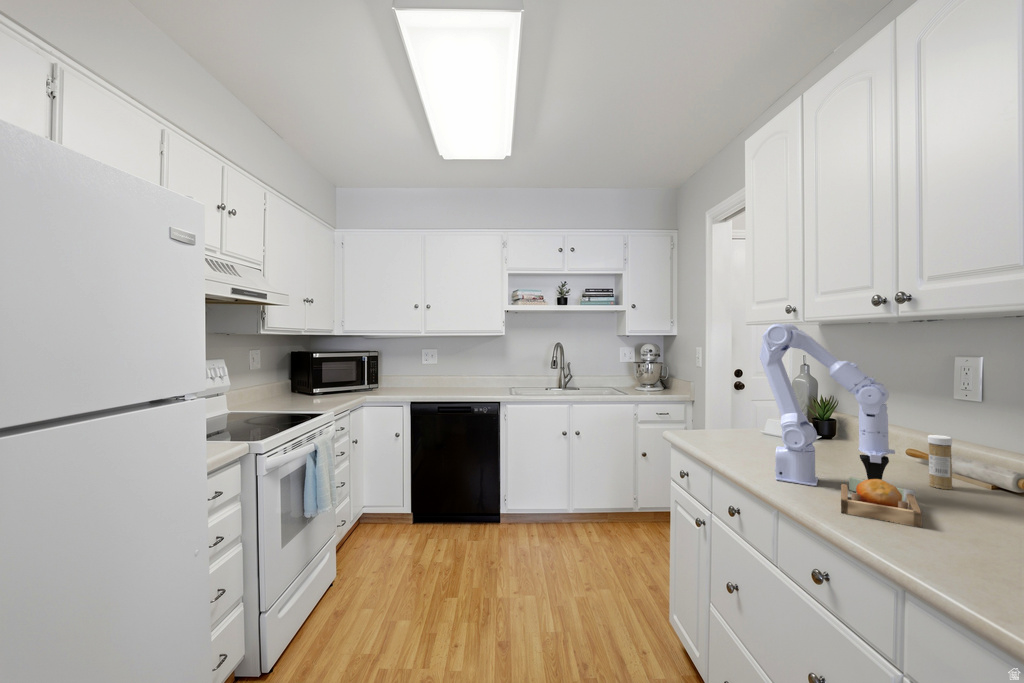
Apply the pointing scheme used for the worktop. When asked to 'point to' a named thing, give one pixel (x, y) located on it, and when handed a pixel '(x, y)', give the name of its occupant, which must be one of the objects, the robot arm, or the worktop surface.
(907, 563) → the worktop surface
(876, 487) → the fruit
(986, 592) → the worktop surface
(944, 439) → the sprinkles bottle
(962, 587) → the worktop surface
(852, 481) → the gate
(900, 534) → the worktop surface
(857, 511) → the cradle
